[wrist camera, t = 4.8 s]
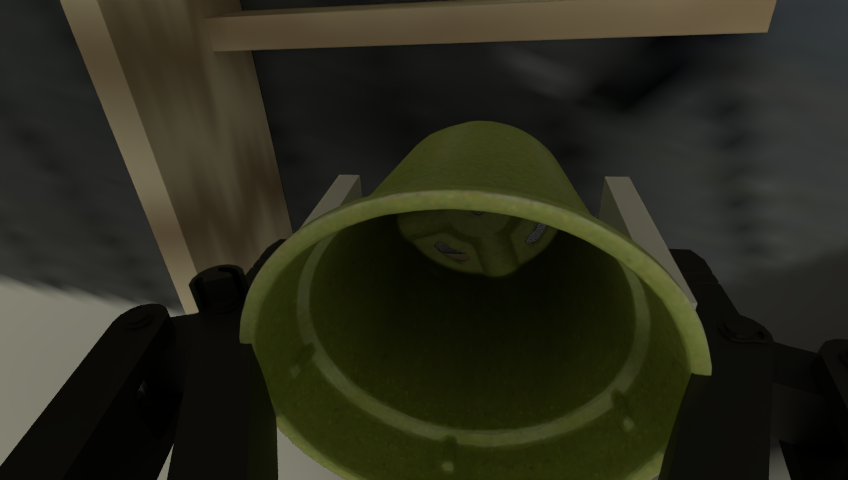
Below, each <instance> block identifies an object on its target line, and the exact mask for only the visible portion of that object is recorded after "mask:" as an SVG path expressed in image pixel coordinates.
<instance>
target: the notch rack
mask: <svg viewBox="0 0 848 480" xmlns="http://www.w3.org/2000/svg"><path fill="white" fill-rule="evenodd" d="M776 1H777V0H444V1H424V2H404V3H384V4H364V5H344V6H324V7H304V8H284V9H264V10H244V11H242V7H241V3H240V0H60V2H61V5H62V7H63V10H64V12H65V15H66V17H67V20H68V22H69V25H70V27H71V30H72V32H73V35H74V37H75V40H76V42H77V45H78V47H79V50H80V52H81V55H82V57H83V59H84V62H85V64H86V67H87V69H88V72H89V74H90V77H91V79H92V82H93V84H94V87H95V89H96V92H97V94H98V97H99V99H100V102H101V104H102V107H103V109H104V112H105V114H106V117H107V119H108V122H109V124H110V127H111V129H112V132H113V134H114V137H115V139H116V142H117V144H118V146H119V149H120V151H121V154H122V156H123V159H124V161H125V164H126V166H127V169H128V171H129V174H130V176H131V179H132V181H133V184H134V186H135V189H136V191H137V194H138V196H139V199H140V201H141V204H142V206H143V209H144V211H145V214H146V216H147V219H148V221H149V224H150V226H151V229H152V231H153V233H154V236H155V238H156V241H157V243H158V246H159V248H160V251H161V253H162V256H163V258H164V261H165V263H166V266H167V268H168V271H169V273H170V276H171V278H172V281H173V283H174V286H175V288H176V291H177V293H178V296H179V298H180V301H181V303H182V306H183V308H184V311H185V313H186V315H188V314H194V313H198V312H199V311H198V308H197V306H196V303H195V301H194V298H193V296H192V293H191V291H190V288H189V283H190V281H191V279H192V278H193V277H195V276H196V275H197V274H198V273H200V272H202V271H204V270H206V269H208V268H211V267H214V266H218V265H225V264H231V265H237V266H239V267H241V268H242V269H243V271H244V274H245V275H246V273H247V272H248V271H249V270H250V268H251V267H253V265H254V263H255V262H256V261H257V260H258V259H259V257H260V256H261V255H262V253H263V252H264V251H265V250H266V248H267V247H269V246H270V245H272V244H273V243H275V242H276V241H278V240H279V239H288V238H289V237H290V236H291V235H293V231H292V227H291V223H290V218H289V214H288V209H287V205H286V201H285V196H284V192H283V188H282V183H281V179H280V174H279V170H278V166H277V161H276V157H275V152H274V148H273V144H272V139H271V135H270V130H269V126H268V122H267V117H266V113H265V108H264V104H263V100H262V95H261V91H260V86H259V82H258V78H257V73H256V69H255V64H254V60H253V56H252V51H251V50H271V49H299V48H328V47H357V46H385V45H414V44H443V43H471V42H500V41H528V40H557V39H586V38H614V37H643V36H672V35H700V34H729V33H758V32H768V28H769V25H770V21H771V18H772V14H773V11H774V8H775V4H776ZM444 254H446V255H448V256H450V257H452V258H455V259H459V260H466V259H469V256H468V255H467V254H451V253H444Z"/></svg>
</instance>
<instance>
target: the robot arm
mask: <svg viewBox="0 0 848 480" xmlns="http://www.w3.org/2000/svg"><path fill="white" fill-rule="evenodd" d="M361 198H363V196H362V189H361V182H360V175H339V176H338V177H337V179H336V180H335V181H334V183H333V184H332V185H331V187H330V188H329V189H328V191H327V192H326V194H325V195H324V196H323V198H322V199H321V200H320V202H319V203H318V204H317V206H316V207H315V209H314V210H313V211H312V213H311V214H310V215H309V217H308V218H307V219H306V221H305V222H304V224H303V225H302V226H301V228H302V227H303V226H304V225H306V224H307V223H309V222H311V221H312V220H314V219H315V218H317V217H319V216H320V215H322V214H324V213H326V212H329V211H331V210H333V209H335V208H337V207H339V206H341V205H344V204H347V203H349V202H352V201H355V200H358V199H361ZM598 219H599V220H600V221H602V222H604V223H606V224H608V225H609V226H611V227H613V228H615V229H616V230H618V231H619V232H621V233H623V234H624V235H626V236H627V237H629V238H630V239H631V240H633V241H634V242H635V243H637V244H638V245H639V246H641V247H642V248H643V249H644V250H645V251H647V252H648V253H649V254H650V255H651V256H653V257H654V258H655V259H656V260H657V261H658V262H659V263H660V264H661V265H662V266H663V267H664V268H665V269H666V270H667V272H668V273H669V274H670V275H671V276H672V277H673V279H674V280H675V281H676V282H677V283H678V285H679V286H680V287H681V289H682V290H683V292H684V293H685V295H686V296H687V298H688V299H689V301H690V302H691V304H692V305H693V307H694V309H695V311H696V313H697V315H698V317H699V319H700V321H701V323H702V326H703V329H704V332H705V335H706V339H707V343H708V347H709V352H710V358H711V365H712V371H711V375H699V374H694V373H692V374H691V377H690V379H689V382H688V385H687V387H686V390H685V393H684V396H683V399H682V401H681V404H680V407H679V410H678V413H677V416H676V419H675V422H674V426H673V429H672V432H671V435H670V438H669V441H668V444H667V447H666V451H665V454H664V457H663V461H662V466H661V470H660V474H659V478H658V480H769V456H770V437H772V438H776V439H778V440H779V443H780V447H781V450H782V453H783V456H784V459H785V462H786V465H787V469H788V471H789V474H790V478H791V480H848V340H844V339H834V340H830V341H826V342H825V343H824V344H823V345H822V346H821V347H820V349H819V351H818V353H814V352H810V351H806V350H802V349H798V348H794V347H790V346H786V345H783V344H780V343H776V342H774V341H773V338H772V335H771V334H770V332H769V331H768V330H767V329H766V328H765V327H764V326H762V325H761V324H759V323H757V322H756V321H754V320H752V319H750V318H747V317H745V316H742V315H739V313H738V312H737V310H736V308H735V307H734V305H733V304H732V302H731V301H730V299H729V298H728V296H727V294H726V293H725V291H724V290H723V288H722V287H721V285H720V284H718V280H717V279H716V277H715V276H714V275H713V274H712V271H711V269H710V268H709V266H708V265H707V263H706V262H705V260H704V259H702V258H701V257H699V256H698V255H697V254H695V253H694V252H693V251H691V250H682V249H668V248H667V246H666V244H665V242H664V241H663V239H662V237H661V235H660V233H659V231H658V230H657V228H656V226H655V224H654V222H653V220H652V218H651V217H650V215H649V213H648V211H647V209H646V207H645V206H644V204H643V202H642V200H641V198H640V196H639V194H638V193H637V191H636V189H635V187H634V185H633V183H632V182H631V180H630V178H629V177H605V178H604V185H603V191H602V198H601V204H600V211H599V217H598ZM286 240H287V239H279V240H278V241H276V242H275V243H273V244H272V245H270V246H269V247H267V248H266V250H265V251H264V252H263V253H262V255H261V256H260V257H259V259H258V260H257V261H256V262H255V263H254V265H253V267H251V268H250V270H249V271H248V272H247V273H246V275H245V274H244V271H243V269H242V268H241V267H239V266H237V265H231V264H225V265H218V266H214V267H211V268H208V269H206V270H204V271H202V272H200V273H198V274H197V275H196V276H195V277H193V278H192V279H191V281H190V283H189V288H190V291H191V293H192V296H193V298H194V301H195V303H196V306H197V308H198V311H199V312H198V313H194V314H188V315H182V316H176V317H170V316H169V313H168V311H167V309H166V307H165V306H163V305H161V304H146V305H140V306H137V307H134V308H132V309H130V310H128V311H126V312H125V313H123V314H121V315H120V316H119V317H118V318H117V319H115V321H113V322H112V324H111V325H110V326H109V328H108V329H107V330H106V331H105V333H104V334H103V335H102V337H101V338H100V339H99V340H98V342H97V343H96V344H95V345H94V347H93V348H92V349H91V351H90V352H89V353H88V354H87V356H86V357H85V358H84V360H83V361H82V362H81V364H80V365H79V366H78V367H77V369H76V370H75V371H74V372H73V374H72V375H71V376H70V378H69V379H68V380H67V381H66V383H65V384H64V385H63V386H62V388H61V389H60V391H59V392H58V393H57V394H56V395H55V397H54V398H53V399H52V401H51V402H50V403H49V404H48V406H47V407H46V408H45V410H44V411H43V412H42V414H41V415H40V416H39V417H38V419H37V420H36V421H35V422H34V424H33V425H32V426H31V428H30V429H29V430H28V431H27V433H26V434H25V435H24V436H23V438H22V439H21V440H20V442H19V443H18V444H17V446H16V447H15V448H14V449H13V451H12V452H11V453H10V455H9V456H8V457H7V458H6V460H5V461H4V462H3V463H2V465H1V466H0V480H157V478H158V476H159V474H160V472H161V470H162V467H163V465H164V463H165V461H166V459H167V457H168V454H169V452H170V450H171V448H172V446H173V450H172V456H171V462H170V467H169V472H168V477H167V480H278V458H277V421H276V415H275V412H274V409H273V405H272V402H271V399H270V395H269V392H268V388H267V385H266V382H265V379H264V376H263V373H262V370H261V367H260V364H259V362H258V360H257V357H256V355H255V352H254V350H253V347H252V344H251V343H250V344H243V343H240V339H239V335H240V321H241V316H242V311H243V308H244V304H245V300H246V296H247V294H248V291H249V289H250V287H251V285H252V283H253V281H254V279H255V277H256V275H257V274H258V272H259V271H260V269H261V268H262V266H263V265H264V264H265V262H266V261H267V260H268V259H269V257H270V256H271V255H272V254H273V253H274V252H275V251H276V250H277V249H278V247H280V246H281V245H282V244H283V243H284V242H285V241H286ZM139 388H140V390H139ZM173 444H174V445H173Z"/></svg>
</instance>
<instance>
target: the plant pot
mask: <svg viewBox="0 0 848 480" xmlns="http://www.w3.org/2000/svg"><path fill="white" fill-rule="evenodd" d="M472 210H473V211H484V212H483V213H481V214H480V215H478V214H474V213H473V211H472ZM539 223H542V224H546V225H547V226H546V228H545V230H544V231H543V233H542V235H541V236H540V237H539V238H538V239H537V240H536V241H535V242H532V243H527V242H526V239H527V238H528V236H529V235H530V234H531V233H532V232H533V231H534V230H535V229H536V227H537V225H538V224H539ZM439 242H441V243H443V244H444V245H447V246H449V247H450V248H452V249H453V250H456V251H458V252H462V253H465V254H467V255H468V256H469V259H466V260H459V259H455V258H452V257H450V256H448V255H446V254H444V253H442V252H441V251H440V250H439V249H438V248H437V247H436V243H439ZM239 339H240V343H243V344H250V343H251V344H252V347H253V350H254V352H255V355H256V357H257V360H258V362H259V364H260V367H261V370H262V373H263V376H264V379H265V382H266V385H267V388H268V392H269V395H270V399H271V402H272V405H273V409H274V412H275V415H276V421H277V427H278V428H279V429H280V431H281V432H282V433H283V434H284V435H285V436H286V437H288V438H289V440H290V441H291V442H292V443H293V444H294V445H295V446H297V447H298V448H299V449H301V450H302V451H303V452H304V453H305V454H306V455H308V456H309V457H311V458H312V459H313V460H315V461H316V462H317V463H319V464H320V465H322V466H323V467H325V468H327V469H329V470H330V471H332V472H333V473H335V474H337V475H339V476H340V477H341V478H343V479H345V480H651V479H652V478H654V477H655V476H657V475H658V474H660V470H661V466H662V461H663V457H664V454H665V451H666V447H667V444H668V441H669V438H670V435H671V432H672V429H673V426H674V422H675V419H676V416H677V413H678V410H679V407H680V404H681V401H682V399H683V396H684V393H685V390H686V387H687V385H688V382H689V379H690V377H691V374H692V373H694V374H699V375H711V371H712V365H711V358H710V352H709V347H708V343H707V339H706V335H705V332H704V329H703V326H702V323H701V321H700V319H699V317H698V315H697V313H696V311H695V309H694V307H693V305H692V304H691V302H690V301H689V299H688V298H687V296H686V295H685V293H684V292H683V290H682V289H681V287H680V286H679V285H678V283H677V282H676V281H675V280H674V279H673V277H672V276H671V275H670V274H669V273H668V272H667V270H666V269H665V268H664V267H663V266H662V265H661V264H660V263H659V262H658V261H657V260H656V259H655V258H654V257H653V256H651V255H650V254H649V253H648V252H647V251H645V250H644V249H643V248H642V247H641V246H639V245H638V244H637V243H635V242H634V241H633V240H631V239H630V238H629V237H627V236H626V235H624V234H623V233H621V232H619V231H618V230H616V229H615V228H613V227H611V226H609V225H608V224H606V223H604V222H602V221H600V220H599V219H597V218H595V217H593V216H592V215H591V214H590V212H589V211H588V209H587V208H586V206H585V205H584V203H583V202H582V200H581V199H580V197H579V196H578V194H577V193H576V191H575V189H574V188H573V186H572V184H571V183H570V181H569V179H568V178H567V176H566V174H565V173H564V171H563V170H562V168H561V167H560V165H559V163H558V162H557V160H556V159H555V157H554V156H553V155H552V154H551V152H550V151H549V150H548V149H547V148H546V147H545V146H544V145H543V144H542V143H540V142H539V141H538V140H537V139H535V138H534V137H532V136H531V135H529V134H528V133H526V132H524V131H522V130H520V129H518V128H516V127H513V126H510V125H506V124H503V123H498V122H493V121H470V122H466V123H462V124H458V125H454V126H450V127H447V128H445V129H442V130H440V131H437V132H435V133H433V134H431V135H429V136H427V137H426V138H425V139H423V140H422V141H421V142H420V143H419V144H418V145H416V146H415V147H414V148H413V150H412V151H411V152H410V153H409V154H408V155H407V156H406V157H405V158H404V159H403V160H402V161H401V163H400V164H399V165H398V166H397V167H396V168H395V169H394V170H393V171H392V172H391V173H390V174H389V175H388V176H387V178H386V179H385V180H384V181H383V182H382V183H381V184H380V185H379V186H378V187H377V188H376V189H375V191H374V192H373V193H372V194H371V195H370V196H367V197H364V198H361V199H358V200H355V201H352V202H349V203H347V204H344V205H341V206H339V207H337V208H335V209H333V210H331V211H329V212H326V213H324V214H322V215H320V216H319V217H317V218H315V219H314V220H312V221H311V222H309V223H307V224H306V225H304V226H303V227H302V228H300V229H299V230H298V231H296V232H295V233H294V234H293V235H291V236H290V237H289V238H288V239H287V240H286V241H285V242H284V243H283V244H282V245H281V246H280V247H278V249H277V250H276V251H275V252H274V253H273V254H272V255H271V256H270V257H269V259H268V260H267V261H266V262H265V264H264V265H263V266H262V268H261V269H260V271H259V272H258V274H257V275H256V277H255V279H254V281H253V283H252V285H251V287H250V289H249V291H248V294H247V296H246V300H245V304H244V308H243V311H242V316H241V321H240V335H239Z"/></svg>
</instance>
